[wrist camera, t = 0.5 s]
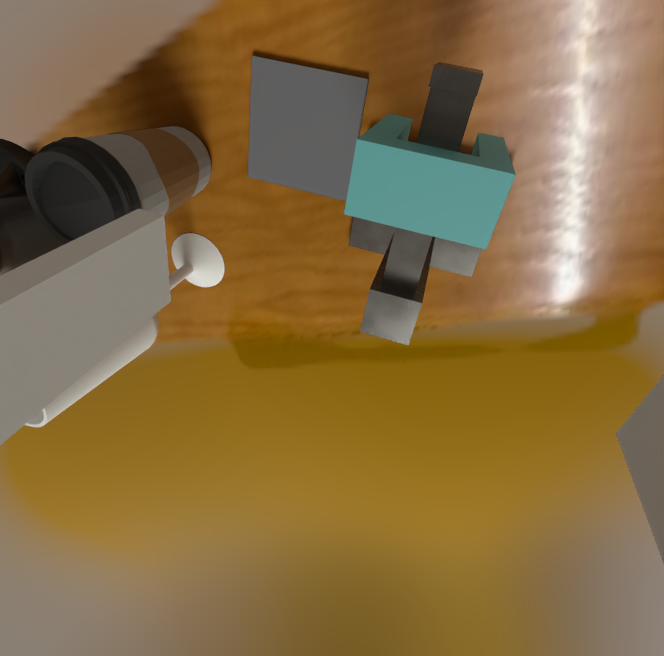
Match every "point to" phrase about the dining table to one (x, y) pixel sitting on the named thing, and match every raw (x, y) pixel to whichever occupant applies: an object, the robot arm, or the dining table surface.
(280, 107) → the mat
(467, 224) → the u-shaped block
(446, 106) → the stand
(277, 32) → the dining table surface
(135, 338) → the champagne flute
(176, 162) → the coffee cup
